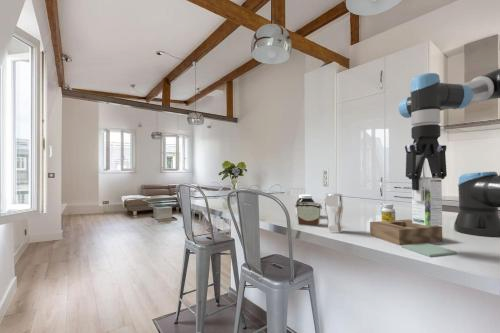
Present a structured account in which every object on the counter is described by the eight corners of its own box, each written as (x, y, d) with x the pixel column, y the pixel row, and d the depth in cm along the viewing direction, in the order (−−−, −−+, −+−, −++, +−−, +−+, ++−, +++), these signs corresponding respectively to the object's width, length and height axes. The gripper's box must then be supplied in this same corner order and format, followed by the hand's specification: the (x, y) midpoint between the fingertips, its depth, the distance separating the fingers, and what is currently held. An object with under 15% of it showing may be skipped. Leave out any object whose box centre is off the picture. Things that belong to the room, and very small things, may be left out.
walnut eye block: (409, 231, 106) (408, 219, 107) (442, 240, 93) (442, 226, 93) (370, 235, 102) (370, 222, 102) (399, 245, 88) (399, 230, 88)
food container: (326, 224, 122) (325, 202, 123) (321, 227, 117) (321, 204, 117) (300, 222, 129) (300, 201, 129) (295, 224, 124) (295, 202, 124)
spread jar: (297, 218, 139) (297, 196, 139) (293, 214, 150) (293, 194, 150) (320, 218, 139) (320, 195, 139) (315, 214, 150) (314, 193, 150)
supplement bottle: (398, 226, 117) (397, 204, 117) (389, 227, 115) (389, 205, 115) (387, 224, 122) (386, 203, 122) (379, 225, 120) (378, 203, 120)
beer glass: (344, 233, 105) (344, 195, 105) (326, 232, 107) (325, 195, 107) (342, 229, 112) (341, 193, 112) (325, 229, 114) (324, 193, 114)
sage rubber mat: (426, 244, 89) (426, 242, 89) (456, 253, 79) (456, 251, 79) (401, 247, 86) (401, 245, 86) (429, 256, 77) (429, 254, 77)
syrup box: (411, 223, 85) (410, 177, 85) (426, 222, 86) (425, 176, 86) (428, 226, 79) (427, 177, 79) (443, 225, 81) (442, 177, 81)
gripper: (438, 128, 89) (439, 198, 89) (390, 126, 84) (391, 200, 84) (461, 124, 82) (462, 200, 82) (410, 122, 77) (411, 203, 77)
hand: (426, 200), depth 83 cm, fingers closed on syrup box, 6 cm apart
